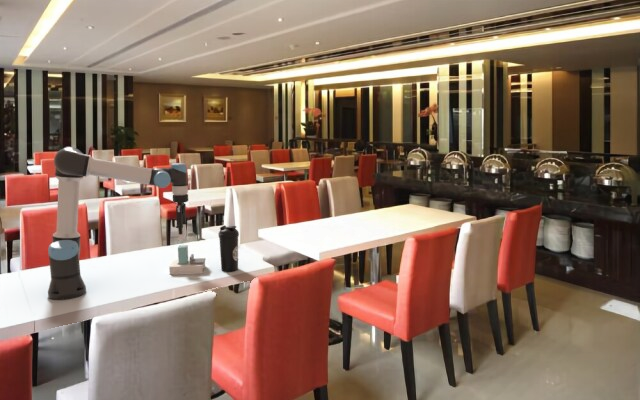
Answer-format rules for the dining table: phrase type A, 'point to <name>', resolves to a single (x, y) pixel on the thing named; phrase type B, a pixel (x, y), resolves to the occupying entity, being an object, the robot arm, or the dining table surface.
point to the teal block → (183, 254)
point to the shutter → (196, 260)
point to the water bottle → (229, 248)
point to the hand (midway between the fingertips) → (182, 238)
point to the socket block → (186, 268)
